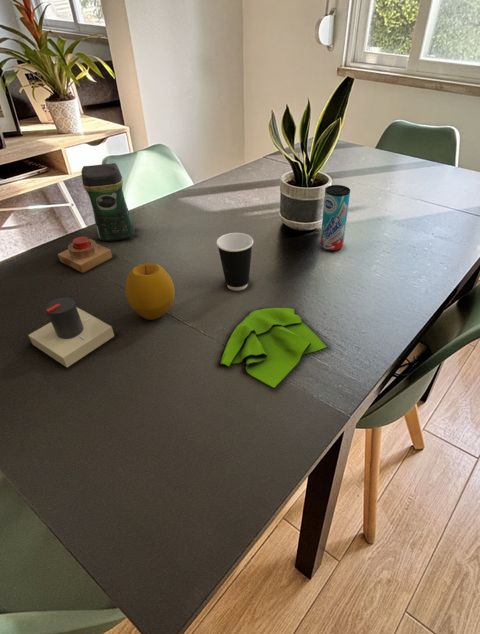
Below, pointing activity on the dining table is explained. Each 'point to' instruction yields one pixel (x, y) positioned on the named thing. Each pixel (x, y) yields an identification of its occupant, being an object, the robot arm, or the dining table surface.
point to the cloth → (270, 344)
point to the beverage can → (334, 217)
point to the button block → (85, 256)
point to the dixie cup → (235, 259)
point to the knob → (64, 318)
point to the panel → (72, 339)
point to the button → (81, 243)
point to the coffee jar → (108, 201)
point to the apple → (149, 290)
